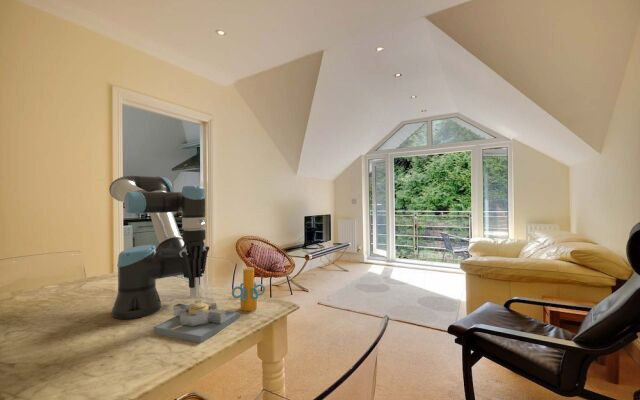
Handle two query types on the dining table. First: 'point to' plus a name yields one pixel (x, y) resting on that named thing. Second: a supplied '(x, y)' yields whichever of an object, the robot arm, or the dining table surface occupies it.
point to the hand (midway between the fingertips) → (194, 295)
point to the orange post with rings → (248, 290)
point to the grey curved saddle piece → (199, 314)
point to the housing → (194, 332)
